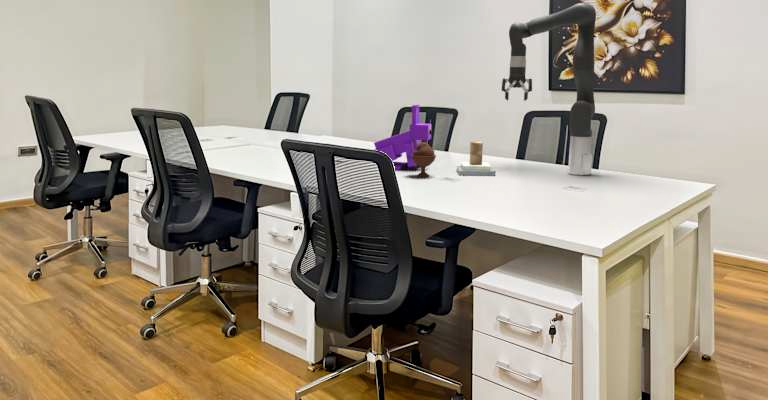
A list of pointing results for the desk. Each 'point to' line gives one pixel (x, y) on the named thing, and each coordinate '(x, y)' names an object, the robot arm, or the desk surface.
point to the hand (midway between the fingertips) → (516, 100)
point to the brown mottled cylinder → (476, 153)
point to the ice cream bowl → (423, 157)
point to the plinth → (476, 173)
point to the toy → (406, 142)
